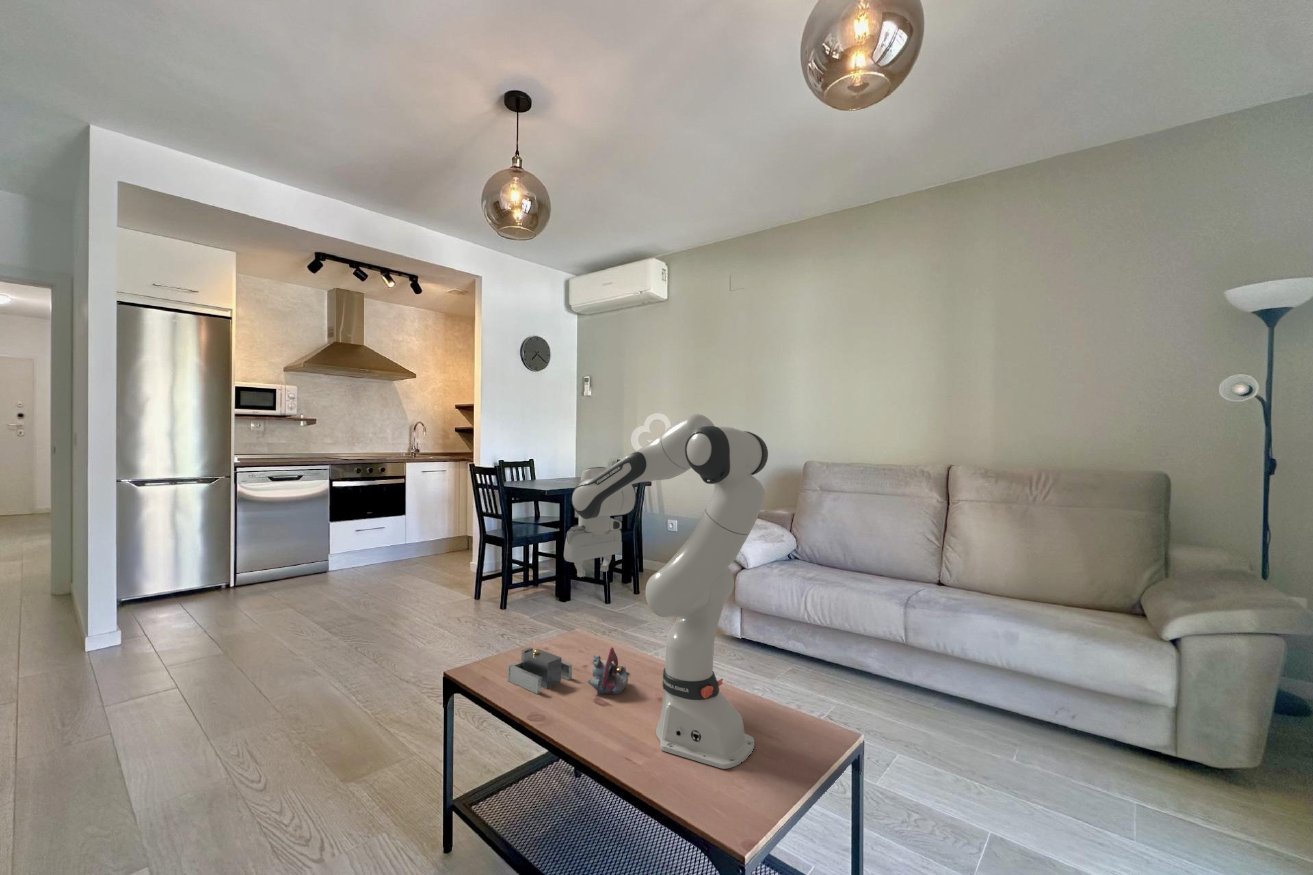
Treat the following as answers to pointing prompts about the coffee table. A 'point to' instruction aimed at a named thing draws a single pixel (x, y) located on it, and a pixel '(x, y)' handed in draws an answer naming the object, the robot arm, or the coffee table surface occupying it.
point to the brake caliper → (608, 675)
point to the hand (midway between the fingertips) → (593, 573)
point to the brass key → (619, 668)
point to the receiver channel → (530, 679)
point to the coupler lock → (543, 666)
